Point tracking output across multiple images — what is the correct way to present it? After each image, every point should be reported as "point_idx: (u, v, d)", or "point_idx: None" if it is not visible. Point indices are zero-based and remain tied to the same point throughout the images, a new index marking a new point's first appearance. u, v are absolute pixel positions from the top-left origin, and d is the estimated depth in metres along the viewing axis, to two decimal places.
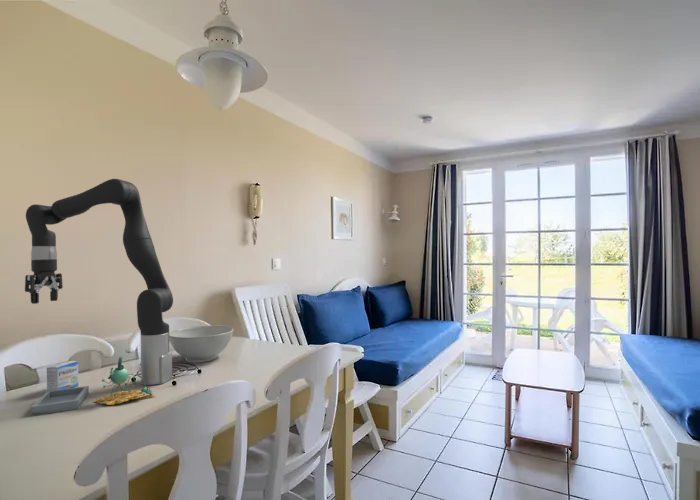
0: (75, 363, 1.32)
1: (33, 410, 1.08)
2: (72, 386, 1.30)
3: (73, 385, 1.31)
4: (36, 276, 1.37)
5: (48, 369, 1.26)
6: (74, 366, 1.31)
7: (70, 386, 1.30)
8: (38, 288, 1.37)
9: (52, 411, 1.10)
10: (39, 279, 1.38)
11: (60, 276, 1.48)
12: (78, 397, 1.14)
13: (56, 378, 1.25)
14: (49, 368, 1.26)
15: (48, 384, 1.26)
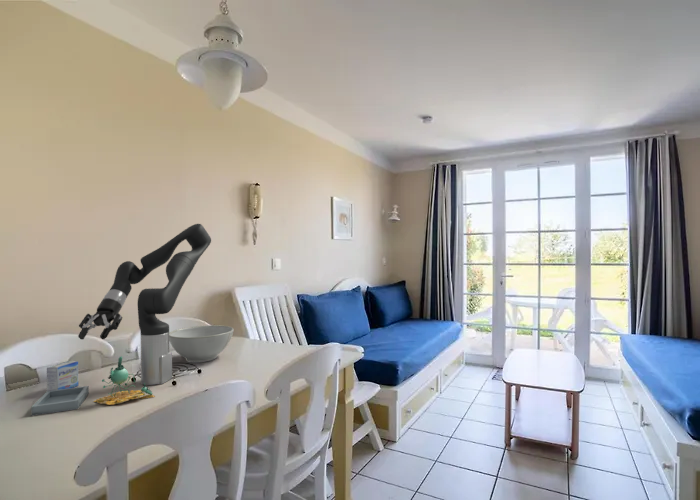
0: (75, 363, 1.32)
1: (33, 410, 1.08)
2: (72, 386, 1.30)
3: (73, 385, 1.31)
4: None
5: (48, 369, 1.26)
6: (74, 366, 1.31)
7: (70, 386, 1.30)
8: None
9: (52, 411, 1.10)
10: None
11: None
12: (78, 397, 1.14)
13: (56, 378, 1.25)
14: (49, 368, 1.26)
15: (48, 384, 1.26)
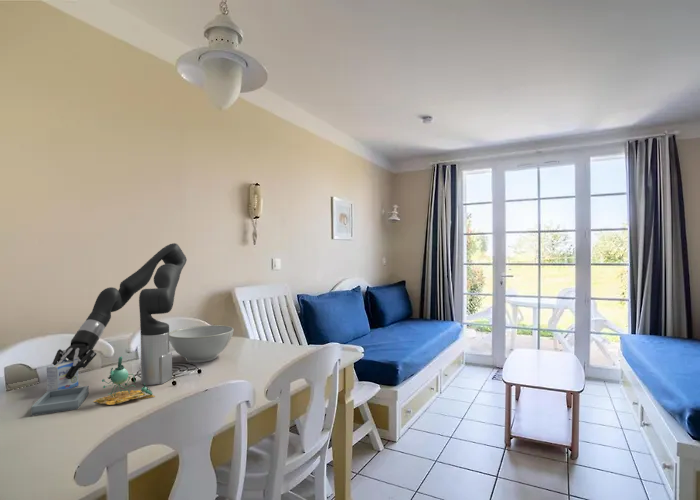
0: None
1: (33, 410, 1.08)
2: (72, 386, 1.30)
3: (73, 385, 1.31)
4: None
5: (48, 369, 1.26)
6: None
7: (70, 386, 1.30)
8: None
9: (52, 411, 1.10)
10: None
11: None
12: (78, 397, 1.14)
13: (56, 378, 1.25)
14: (49, 368, 1.26)
15: (48, 384, 1.26)
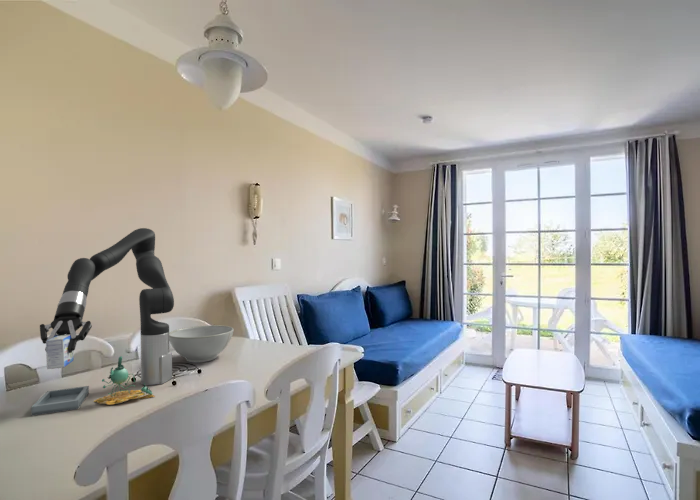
0: None
1: (33, 410, 1.08)
2: (70, 361, 1.19)
3: (71, 360, 1.19)
4: None
5: (49, 342, 1.12)
6: None
7: (70, 360, 1.18)
8: None
9: (52, 411, 1.10)
10: None
11: None
12: (78, 397, 1.14)
13: (62, 351, 1.13)
14: (50, 341, 1.12)
15: (50, 359, 1.12)
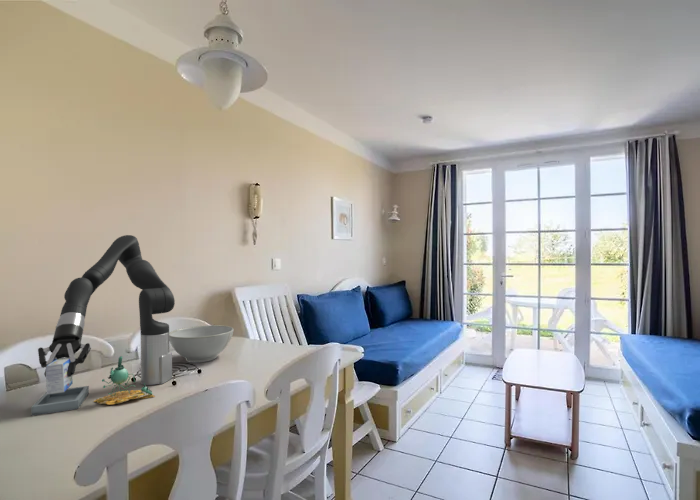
0: None
1: (33, 410, 1.08)
2: (70, 384, 1.18)
3: (70, 383, 1.18)
4: None
5: (49, 367, 1.12)
6: (70, 362, 1.19)
7: (69, 384, 1.17)
8: None
9: (52, 411, 1.10)
10: None
11: None
12: (78, 397, 1.14)
13: (62, 376, 1.13)
14: (50, 366, 1.12)
15: (49, 384, 1.12)
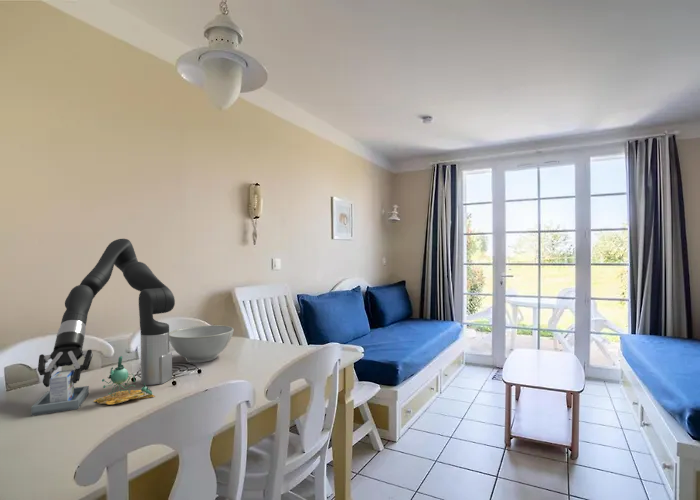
0: (73, 371, 1.19)
1: (33, 410, 1.08)
2: (72, 397, 1.18)
3: (72, 396, 1.18)
4: None
5: (53, 380, 1.11)
6: (72, 375, 1.19)
7: (71, 397, 1.17)
8: None
9: (52, 411, 1.10)
10: None
11: None
12: (78, 397, 1.14)
13: (66, 388, 1.13)
14: (54, 379, 1.12)
15: (53, 397, 1.11)
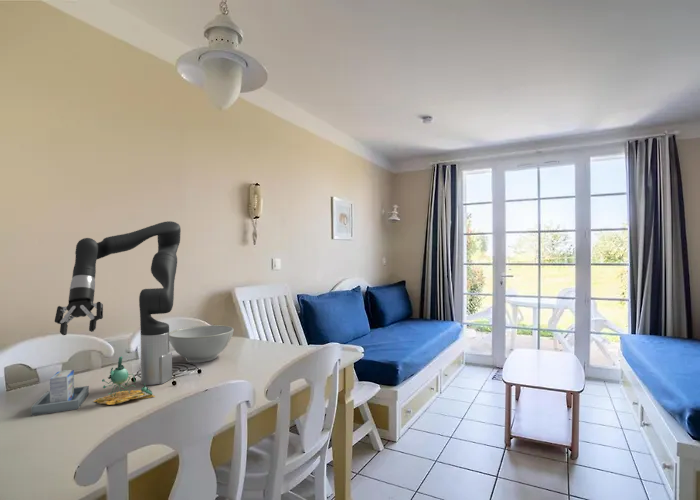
0: (73, 371, 1.19)
1: (33, 410, 1.08)
2: (72, 397, 1.18)
3: (72, 396, 1.18)
4: None
5: (53, 380, 1.11)
6: (72, 375, 1.19)
7: (71, 397, 1.17)
8: None
9: (52, 411, 1.10)
10: None
11: None
12: (78, 397, 1.14)
13: (66, 388, 1.13)
14: (54, 379, 1.12)
15: (53, 397, 1.11)
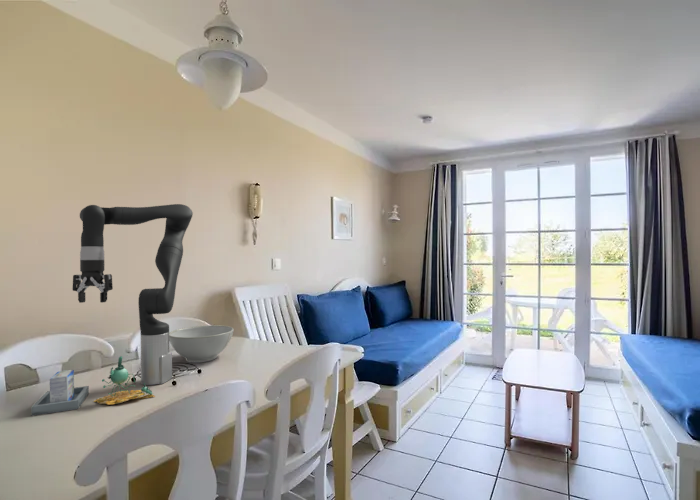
0: (73, 371, 1.19)
1: (33, 410, 1.08)
2: (72, 397, 1.18)
3: (72, 396, 1.18)
4: None
5: (53, 380, 1.11)
6: (72, 375, 1.19)
7: (71, 397, 1.17)
8: None
9: (52, 411, 1.10)
10: None
11: None
12: (78, 397, 1.14)
13: (66, 388, 1.13)
14: (54, 379, 1.12)
15: (53, 397, 1.11)
